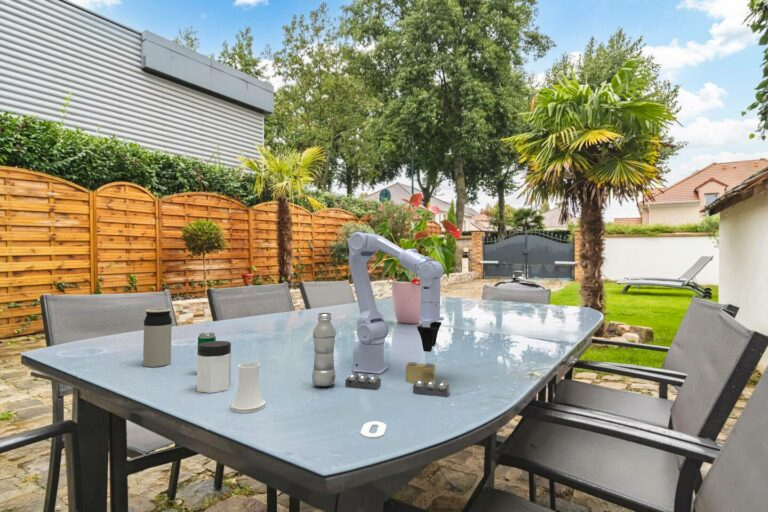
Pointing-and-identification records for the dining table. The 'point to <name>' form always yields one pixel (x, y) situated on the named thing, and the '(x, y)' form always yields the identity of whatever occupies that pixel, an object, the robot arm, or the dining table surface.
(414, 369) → the gold block
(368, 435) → the chain link
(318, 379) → the plastic bottle
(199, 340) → the soda can
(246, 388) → the vase
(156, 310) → the travel mug
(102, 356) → the dining table surface
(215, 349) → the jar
